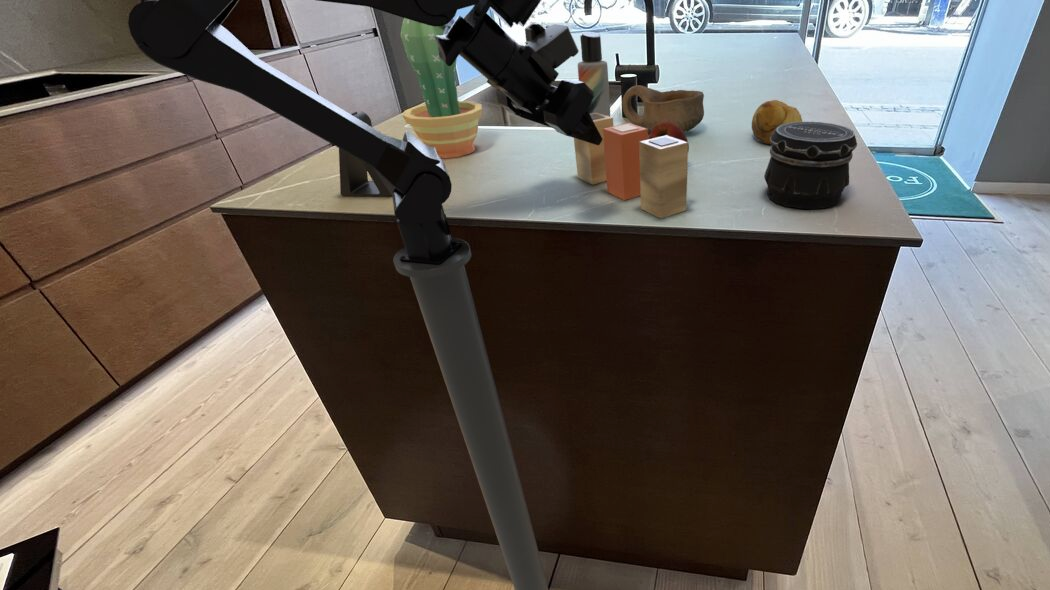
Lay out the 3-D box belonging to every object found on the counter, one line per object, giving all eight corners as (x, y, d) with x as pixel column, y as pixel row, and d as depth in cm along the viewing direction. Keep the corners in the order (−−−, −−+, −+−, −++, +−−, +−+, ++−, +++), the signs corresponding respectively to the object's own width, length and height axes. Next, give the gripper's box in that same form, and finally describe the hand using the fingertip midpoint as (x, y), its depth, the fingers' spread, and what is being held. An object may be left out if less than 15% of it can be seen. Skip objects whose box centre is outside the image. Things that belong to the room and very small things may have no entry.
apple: (638, 170, 96) (636, 123, 91) (665, 159, 100) (665, 114, 95) (669, 178, 92) (669, 130, 87) (696, 167, 96) (698, 120, 91)
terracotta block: (624, 200, 84) (621, 134, 78) (607, 192, 87) (602, 127, 81) (649, 193, 86) (647, 128, 80) (631, 185, 90) (629, 122, 84)
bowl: (616, 135, 109) (615, 81, 105) (626, 137, 122) (625, 88, 118) (702, 134, 107) (704, 79, 103) (703, 136, 120) (705, 87, 116)
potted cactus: (450, 167, 100) (411, 10, 85) (397, 156, 107) (352, 8, 91) (506, 146, 110) (481, 2, 95) (455, 137, 117) (423, 1, 102)
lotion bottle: (599, 140, 112) (591, 29, 100) (617, 145, 109) (611, 31, 96) (578, 146, 109) (568, 33, 97) (597, 151, 105) (588, 35, 93)
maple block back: (616, 178, 93) (613, 116, 86) (592, 184, 90) (587, 122, 84) (601, 171, 96) (596, 111, 90) (577, 177, 94) (571, 116, 87)
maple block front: (686, 210, 80) (688, 141, 74) (660, 218, 78) (660, 148, 72) (666, 201, 84) (666, 134, 77) (640, 209, 81) (638, 140, 75)
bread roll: (745, 131, 114) (748, 90, 109) (789, 129, 114) (795, 88, 109) (755, 148, 104) (760, 104, 99) (805, 146, 104) (812, 102, 99)
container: (842, 184, 87) (855, 120, 81) (848, 214, 77) (864, 144, 71) (763, 180, 90) (771, 118, 83) (760, 209, 80) (768, 141, 74)
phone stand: (407, 184, 93) (385, 111, 86) (391, 196, 89) (366, 120, 81) (359, 183, 94) (334, 111, 87) (341, 196, 90) (312, 120, 82)
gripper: (572, 3, 59) (652, 97, 70) (501, -3, 71) (579, 78, 82) (520, 91, 60) (606, 169, 72) (459, 71, 72) (542, 140, 84)
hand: (583, 135), depth 77 cm, fingers open, 9 cm apart
